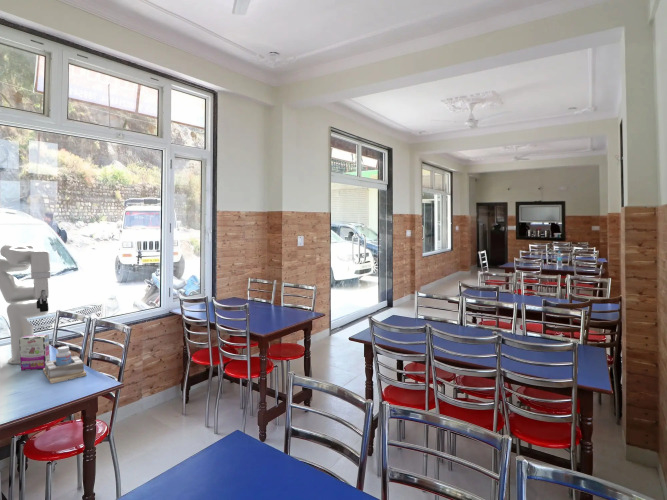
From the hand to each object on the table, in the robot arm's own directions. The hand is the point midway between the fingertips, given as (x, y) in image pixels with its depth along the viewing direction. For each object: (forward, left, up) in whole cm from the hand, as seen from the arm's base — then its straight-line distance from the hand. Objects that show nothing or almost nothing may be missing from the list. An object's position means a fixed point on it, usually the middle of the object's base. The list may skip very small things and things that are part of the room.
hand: (42, 309), depth 193 cm
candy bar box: (-6, -3, -31) cm, 31 cm away
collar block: (+12, +6, -30) cm, 33 cm away
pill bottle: (+12, +6, -29) cm, 32 cm away
